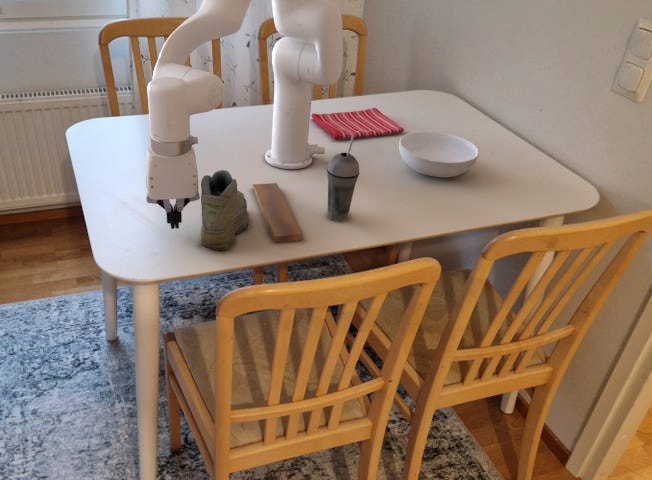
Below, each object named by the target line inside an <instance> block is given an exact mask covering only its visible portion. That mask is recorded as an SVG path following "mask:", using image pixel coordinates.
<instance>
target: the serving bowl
mask: <svg viewBox="0 0 652 480" xmlns="http://www.w3.org/2000/svg"><path fill="white" fill-rule="evenodd" d="M398 142H399V143H398V148H399V149H398V151H399V155H400V157H401V159H402V160H403V162H404V163H405V165H407V166H408V167H409V168H410V169H412V170H413V171H415V172H417V173H419V174H422V175H426V176H430V177H435V178H436V177H437V178H452V177H457V176H460V175H463V174H466V173H467V172H468V171H470V170H471V169H472V168H473V166H474V165H475V164H476V162H477V160H478V158H479V156H480V150H479V147H477V145H475V144H474V143H473V142H471V141H470V140H468V139H466V138H464V137H462V136H458V135H455V134H452V133H446V132H443V131H442V132H441V131H435V130H417V131H412V132H408V133H406V134H404V135H402V136H401V137H400V139H399V141H398Z"/></svg>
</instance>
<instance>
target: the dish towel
mask: <svg viewBox="0 0 652 480" xmlns="http://www.w3.org/2000/svg"><path fill="white" fill-rule="evenodd" d="M311 118H312V119H311V121H312V122H313V123H315V125H317V126H318V127H319V128H320V129H322V130H323V131H324V132H325V133H326V134H327V135H328V136H329V137H330V138H331V139H332V140H334V141H338V140H348V139H350V140H351V137H352V135H354V139H360V138H368V137H377V136H378V137H379V136H388V135H394V134H398V133H399V134H400V133H403V132H404V131H405V129H404V127H402V126H400V125H399V124H398V123H396V122H395V121H393V120H392V119H391V118H390V117H388V116H386V115H385V114H384V113H382V112H381V111H380V110H379V109H378V108H377V107H372V108H368V109H362V110H353V111H343V112H342V111H341V112H331V113H312V114H311Z"/></svg>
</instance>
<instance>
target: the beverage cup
mask: <svg viewBox="0 0 652 480" xmlns="http://www.w3.org/2000/svg"><path fill="white" fill-rule="evenodd" d="M354 139H355V138H354V135H352V137H351V139H350V142H349V145H348V149H347V152H339V153H336V154H335V155H334V156H332V157H331V159H330V160H329V162H328V164H327V167H326V172H327V173H326V175H327V217H328V219H329V220H331V221H333V222H345V221H346V220H348V217H349V213H350V210H351V209H350V208H351V204H352V201H353V196H354V192H355V187H356V183H358V182H357V181H358V179H359V176H360V165H359V162H358V160H357V158H356V157H355V156H354V155H352V154H351V150H352V147H353V142H354Z"/></svg>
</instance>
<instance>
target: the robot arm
mask: <svg viewBox="0 0 652 480" xmlns="http://www.w3.org/2000/svg"><path fill="white" fill-rule="evenodd" d="M251 3H252V0H202V2H201V5H200V7H199V9H198V10H197V12H195V13H194V14H193V15H191V16H190V17H188V18H187V19H185V20H184V21H183V22H182V23H181V24H180V25H179V26H177V28H175V30H174V31H173V32H172V33H171V34H170V35H169V36H168V37H167V39H166V40H165V42H164V44H163V45H162V47H161V50H160V52H159V56H158V58H157V61H156V64H155V66H154V70H153V74H152V80H150V81H149V83H148V85H147V104H148V119H149V120H148V121H149V135H150V136H149V137H150V146H149V147H148V148H147V149H146V156H145V185H146V190H147V192H146V198H145V199H146V203H148V204H153V205H158V206H159V207H161V208H162V209H164V210H165V216H166V224H170V229H171V230H174V229H180V224H181V223H183V219H182V218H183V217H182V214H183V213H182V212H183V211H184V208H185V207H186V206H187V205H188V204H190V203H191V202H195V201H199V200H201V195H200V193H199V174H198V165H197V159H196V158H197V157H196V152H195V148H194V146H193V145H198V144H199V137H198V136H193V135H192V134H191V119H190V118H191V116H193V115H197V114H198V115H199V114H204V113H208V112H212V111H213V110H215V109H216V108H218V107H219V106H220V105H221V103H222V102H223V101H224V97H225V94H226V93H225V92H226V91H225V90H226V89H225V85H224V82H223V80H222V79H221V78H220V77H219V76H218V75H216V74H214V73H212V72H209V71H206V70H202V69H198V68H196V67H192V66H188V65H185V64H186V62H187V61H188V58H189V57H190V56H191V54H192V53H193V52H194V51H195V50H196V49H198V48H199V47H200V46H202V45H204V44H206V43H209V42H212V41H215V40H218V39H221V38H225V37H228V36H231V35H234V34H236V33H238V32H239V31H240V30H241V28H242V25H243V23H244V20H245V17H246V15H247V12H248V10H249V7H250V4H251ZM271 6H272V15H273V22H274V26H275V30H276V31H277V33H279V34H280V35H281V36H282V37H281V38H280V39H278V40H277V41H276V43H275V44H274V46H273V48H272V52H271V64H272V71H273V82H274V85H273V86H274V89H273V91H274V92H273V108H272V109H273V110H272V129H271V147H270V148H269V149H268V150H267V151H265V154H264V159H265V161H266V162H267V164H269V165H271V166H273V167H276V168H279V169H284V170H299V169H304V168H307V167H309V166H310V165H311V164H312V162H313V156H314V155H324V154H325V152H326V147H325V146H318V145H319V144H318V143H311V144H310V143H309V135H310V134H309V132H310V120H311V110H312V101H313V100H312V99H313V98H312V91H311V87H310V84H313V85H317V86H323V87H331V86H333V85H336V83H337V82H339V80H340V78H341V76H342V73H343V72H342V71H343V66H344V36H343V18H342V17H343V16H342V11H341V10H340V8H339V6H338V5H337V4H336V3H335V2H333V1H331V0H271ZM283 36H284V37H283ZM170 200H175V203H174V204H171V201H170Z"/></svg>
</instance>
